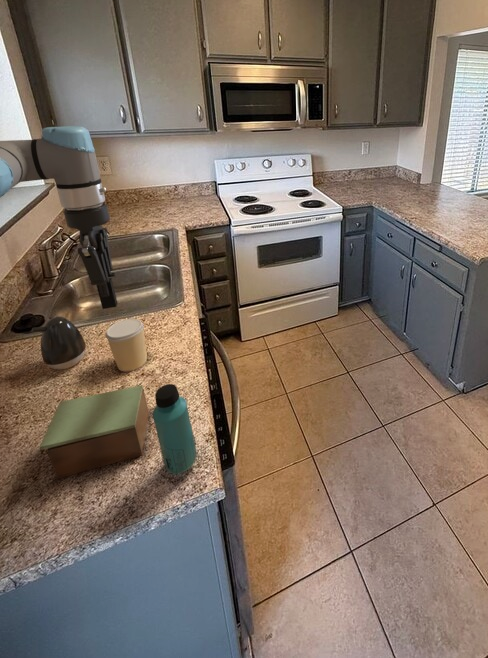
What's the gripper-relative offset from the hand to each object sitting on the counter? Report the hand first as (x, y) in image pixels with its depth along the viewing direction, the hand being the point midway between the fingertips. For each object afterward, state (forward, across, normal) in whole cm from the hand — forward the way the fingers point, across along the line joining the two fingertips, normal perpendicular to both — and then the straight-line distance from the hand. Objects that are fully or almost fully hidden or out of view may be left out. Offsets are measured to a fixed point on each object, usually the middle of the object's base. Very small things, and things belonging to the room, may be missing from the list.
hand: (110, 306), depth 80 cm
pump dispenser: (+29, +23, +21) cm, 42 cm away
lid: (+20, -10, +5) cm, 23 cm away
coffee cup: (+29, +17, +3) cm, 34 cm away
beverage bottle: (+29, -21, -12) cm, 37 cm away
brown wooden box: (+29, -10, +4) cm, 30 cm away
